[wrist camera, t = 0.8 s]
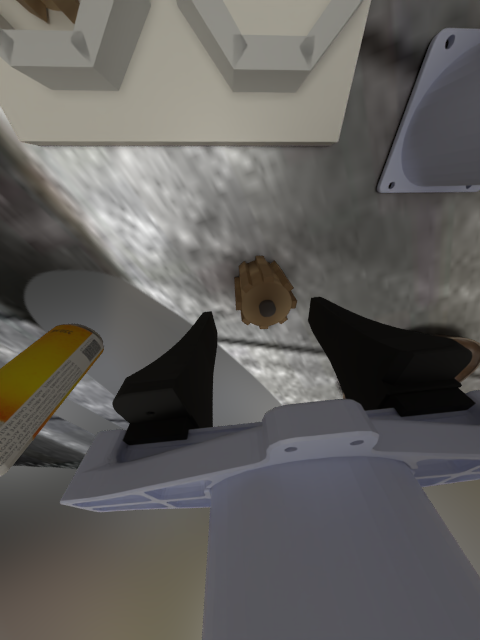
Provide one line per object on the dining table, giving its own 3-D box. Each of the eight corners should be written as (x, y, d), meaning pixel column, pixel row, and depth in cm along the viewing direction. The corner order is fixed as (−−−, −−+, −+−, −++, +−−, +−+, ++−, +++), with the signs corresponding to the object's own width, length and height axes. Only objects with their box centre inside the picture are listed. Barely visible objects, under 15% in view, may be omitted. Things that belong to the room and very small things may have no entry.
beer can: (44, 324, 22) (-173, 479, 10) (87, 316, 22) (-86, 468, 10) (78, 355, 26) (-53, 497, 14) (116, 349, 26) (14, 489, 14)
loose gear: (284, 254, 19) (306, 279, 13) (277, 298, 22) (293, 333, 16) (233, 255, 18) (235, 281, 13) (235, 300, 22) (236, 335, 16)
